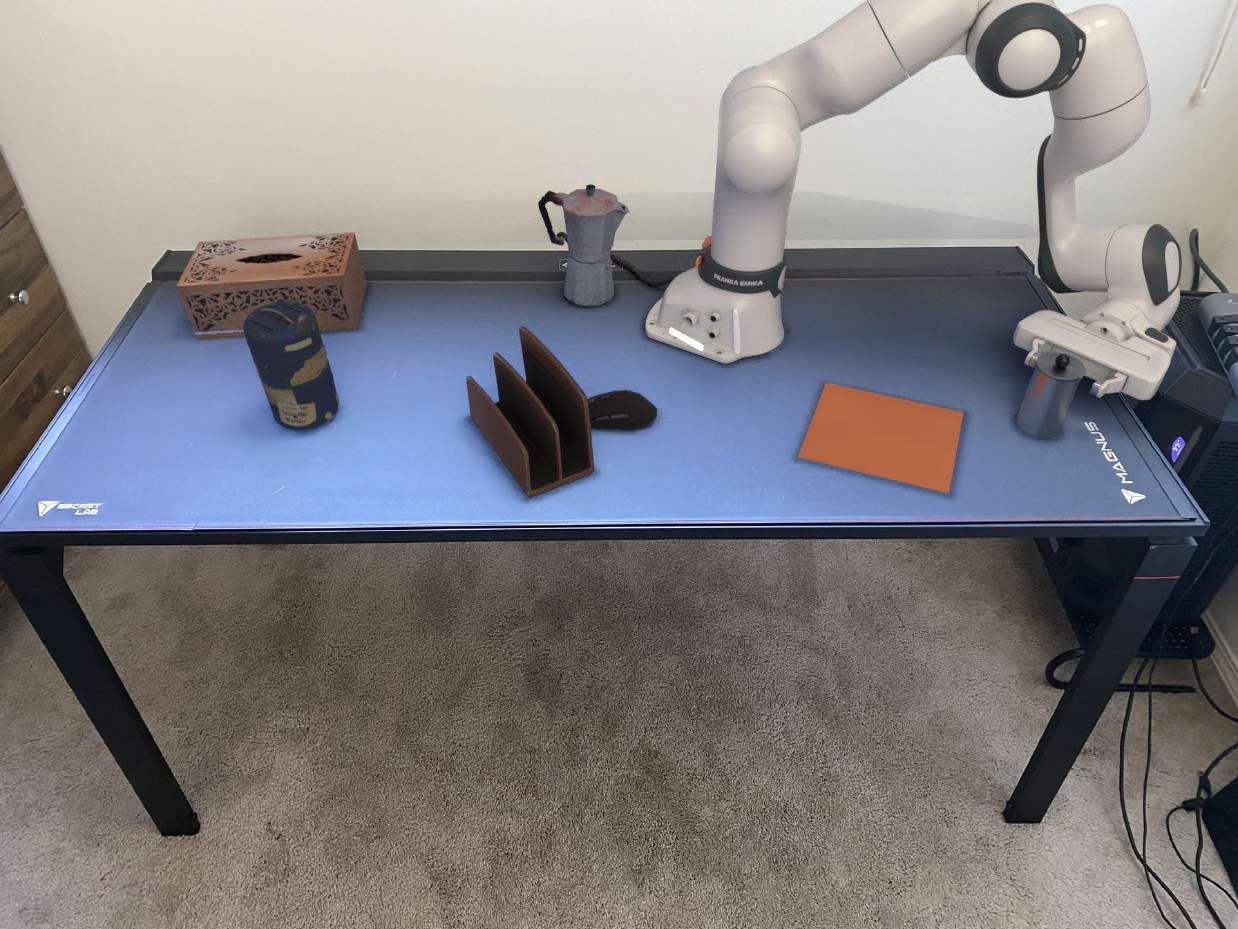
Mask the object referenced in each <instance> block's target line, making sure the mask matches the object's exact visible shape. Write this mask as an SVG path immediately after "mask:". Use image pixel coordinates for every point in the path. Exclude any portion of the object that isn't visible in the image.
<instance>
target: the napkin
mask: <svg viewBox="0 0 1238 929" xmlns="http://www.w3.org/2000/svg"><path fill="white" fill-rule="evenodd" d="M823 386H824V387H823V389H822V392H821V394H820V397H819V400H818V402H817V404H816V407H815V410H814V413H813V415H812V418H811V420H810V423H809V426H808V428H807V431H806V435H805V436H804V439H803V441H802V443H801V444H802V445H801V446H800V449H799V452H798V454H797V457H798V458H800V459H805V460H810V461H814V462H817V463H822V464H824V465H825V464H826V465H830V466H833V467H838V468H843V469H846V470H850V471H855V472H859V473H862V474H867V475H871V476H875V477H879V478H884V479H889V480H892V481H897V482H900V483H905V484H908V485H913V486H917V487H921V488H925V489H929V490H934V491H938V492H942V493H946V494H949V493H950V490H951V484H952V479H953V473H954V468H955V461H956V456H957V453H958V452H957V451H958V447H959V446H958V445H959V441H960V435H961V430H962V425H963V419H964V411H961V410H957V409H956V410H955V409H951V408H947V407H942V406H937V405H933V404H928V403H924V402H918V401H913V400H909V399H905V398H900V397H895V396H892V395H885V394H881V393H877V392H872V391H867V390H862V389H857V388H855V387H854V388H853V387H849V386H844V385H839V384H835V383H830V382H825V384H824V385H823Z"/></svg>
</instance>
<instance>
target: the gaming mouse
mask: <svg viewBox="0 0 1238 929" xmlns="http://www.w3.org/2000/svg"><path fill="white" fill-rule="evenodd" d="M587 400H588V408H589V418H590V425H591V429H598V430H599V429H600V430H621V431H634V430H638V429H639V430H640V429H644V428H646V427H648V426H650V425H651V424H652V423H653V422H654V421H655V420H656V419H657V417H658V408H657V407H656V406H655V405H654V404H653V403H652V402H651V401H650V400H648V399H647V397H645V396H644V395H642V394H641V393H640V392H636V391H632V390H628V389H621V390H619V389H618V390H611V391H608V392H603V393H599V394H596V395H593V396H590V397H587Z"/></svg>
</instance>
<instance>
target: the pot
mask: <svg viewBox="0 0 1238 929" xmlns="http://www.w3.org/2000/svg"><path fill="white" fill-rule="evenodd" d="M1035 365H1036V367H1035V368H1034V369H1033V373H1032V375H1031V378H1030V380H1029V384H1028V387H1027V389H1026V392H1025V394H1024V396H1023V400H1022V403H1021V405H1020V408H1019V411H1018V413H1017V416H1016V424H1017V426H1018V427H1019V428H1020V429H1021V430H1022V431H1023V432H1025V433H1027V434H1029V435H1031V436H1035V437H1036V439H1040V440H1047V439H1052V438H1053V439H1054V438H1055V437H1056V436H1058V435H1059V433H1060V431H1061V428H1062V426H1063V424H1064V421H1065V419H1066V416H1067V414H1068V411H1069V408H1070V406H1071V404H1072V402H1073V399H1074V397H1075V394H1076V392H1077V390H1078V386H1079V384H1080V382H1081V380H1082V379H1083V378H1084V377H1085V376H1084V375H1085V372H1086V369H1085V366H1084V365H1083V363H1082V362H1081V361H1079V360H1078V359H1076V358H1075V357H1073V356H1070V355H1067V354H1064V353H1058V352H1049V353H1044V354H1042V355H1040V356H1039V357H1038V358H1037V360H1036V363H1035Z"/></svg>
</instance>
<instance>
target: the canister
mask: <svg viewBox="0 0 1238 929" xmlns="http://www.w3.org/2000/svg"><path fill="white" fill-rule="evenodd" d="M243 331H244V335H245V337H244V338H245V341H246V344H247V346H248V349H249V351H250V355H251V358H252V360H253V363H254V366H255V370H256V372H257V375H258V378H259V380H260V382H261V385H262V389H263V391H264V394H265V397H266V399H267V402H268V405H269V408H270V411H271V414H272V416H273V418H274V419H275V421H276V423H277V424H278V425H280V426H281V427H283V428H285V429H288V430H292V431H307V430H312V429H315V428H318V427H321V426H323V425H324V424H326V423H327V422H330V420H332V419H333V418H334V417H335V415H336V414H337V413H338V410H339V407H340V398H339V395H338V392H337V388H336V384H335V379H334V374H333V372H332V368H331V364H330V360H329V358H328V352H327V351H326V345H325V344H324V342H323V338H322V335H321V332H320V331H319V327H318V323H317V320H316V317H315V314H314V312H313V311H312V310H311V309H310V308H309V307H308V306H306V305H304V304H302V303H298V302H293V301H280V302H274V303H270V304H267V305H264V306H262V307H260V308H258V309H256V310H254V311H253V312H252V313H251V314H249V315H248V317H247V318H246V319H245V321H244V326H243Z"/></svg>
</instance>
